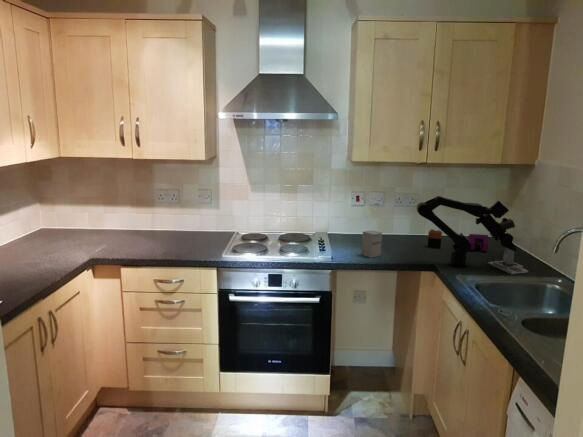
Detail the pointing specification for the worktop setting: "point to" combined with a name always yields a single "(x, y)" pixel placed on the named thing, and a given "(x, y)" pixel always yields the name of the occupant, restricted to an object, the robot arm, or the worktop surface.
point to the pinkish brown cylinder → (371, 243)
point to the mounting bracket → (478, 241)
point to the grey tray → (510, 269)
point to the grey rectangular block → (508, 257)
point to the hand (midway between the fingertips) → (512, 248)
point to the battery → (434, 239)
